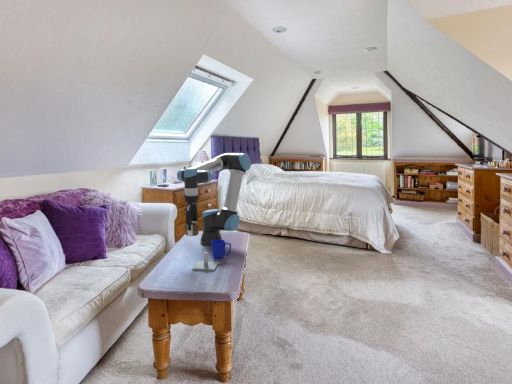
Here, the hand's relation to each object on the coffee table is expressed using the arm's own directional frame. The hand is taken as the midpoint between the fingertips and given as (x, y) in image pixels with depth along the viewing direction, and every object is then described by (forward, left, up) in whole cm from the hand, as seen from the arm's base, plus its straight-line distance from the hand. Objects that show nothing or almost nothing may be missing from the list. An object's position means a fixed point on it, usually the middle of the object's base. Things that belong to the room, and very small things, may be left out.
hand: (192, 233), depth 190 cm
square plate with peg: (+9, +10, -16) cm, 21 cm away
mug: (-7, +16, -16) cm, 24 cm away
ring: (0, 0, 0) cm, 0 cm away
